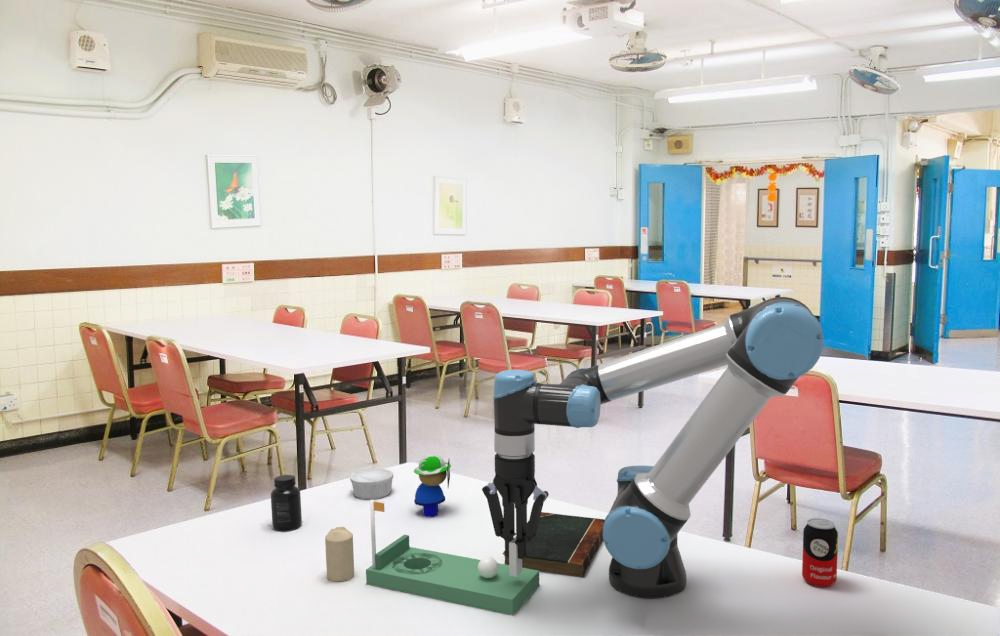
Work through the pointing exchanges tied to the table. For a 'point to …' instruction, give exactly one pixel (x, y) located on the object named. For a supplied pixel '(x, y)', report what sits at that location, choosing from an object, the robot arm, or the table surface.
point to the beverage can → (820, 552)
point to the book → (563, 544)
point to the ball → (488, 567)
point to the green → (446, 575)
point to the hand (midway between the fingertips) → (515, 573)
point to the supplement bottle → (286, 504)
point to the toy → (431, 483)
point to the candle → (339, 554)
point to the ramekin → (372, 483)
